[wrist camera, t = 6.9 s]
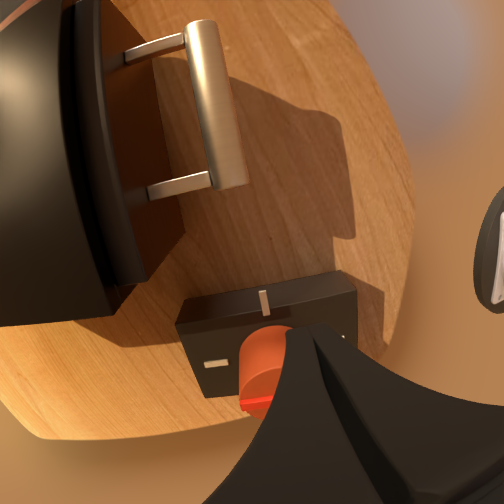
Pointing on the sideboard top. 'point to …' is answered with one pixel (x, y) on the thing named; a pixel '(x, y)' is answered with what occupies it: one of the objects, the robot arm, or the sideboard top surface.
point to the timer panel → (259, 322)
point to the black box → (46, 182)
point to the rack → (144, 133)
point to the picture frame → (13, 10)
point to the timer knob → (261, 368)
